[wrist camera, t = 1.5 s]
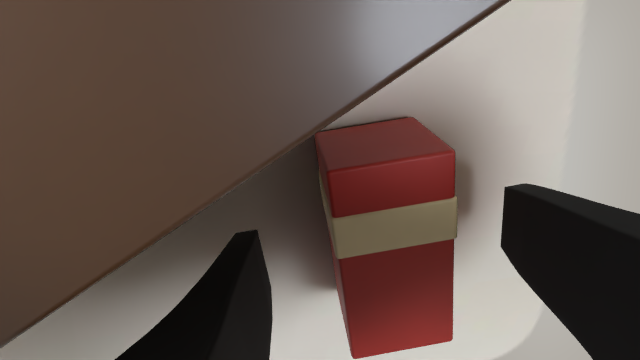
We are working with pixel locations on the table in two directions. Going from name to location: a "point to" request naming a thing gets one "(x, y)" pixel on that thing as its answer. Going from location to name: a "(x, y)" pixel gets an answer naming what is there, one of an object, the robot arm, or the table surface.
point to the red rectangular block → (390, 232)
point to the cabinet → (170, 116)
